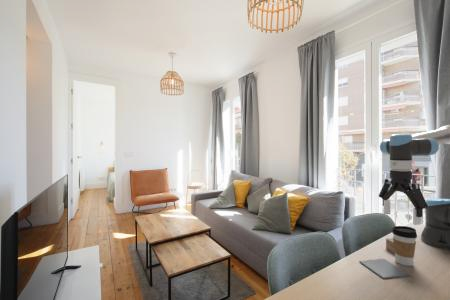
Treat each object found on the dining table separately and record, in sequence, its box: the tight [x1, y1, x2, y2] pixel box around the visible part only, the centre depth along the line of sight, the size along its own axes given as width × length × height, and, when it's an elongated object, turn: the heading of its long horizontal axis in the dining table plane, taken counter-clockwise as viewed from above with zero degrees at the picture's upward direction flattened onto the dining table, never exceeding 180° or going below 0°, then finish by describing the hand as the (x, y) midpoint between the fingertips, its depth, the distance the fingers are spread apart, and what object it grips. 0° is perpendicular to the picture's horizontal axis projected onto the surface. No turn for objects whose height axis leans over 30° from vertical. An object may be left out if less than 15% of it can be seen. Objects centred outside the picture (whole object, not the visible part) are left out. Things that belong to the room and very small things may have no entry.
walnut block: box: [385, 237, 395, 254], centre depth 106 cm, size 5×5×5 cm
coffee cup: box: [391, 225, 418, 267], centre depth 95 cm, size 8×8×15 cm
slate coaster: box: [359, 258, 411, 280], centre depth 90 cm, size 12×12×1 cm
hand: (400, 218), depth 94 cm, fingers open, 13 cm apart
